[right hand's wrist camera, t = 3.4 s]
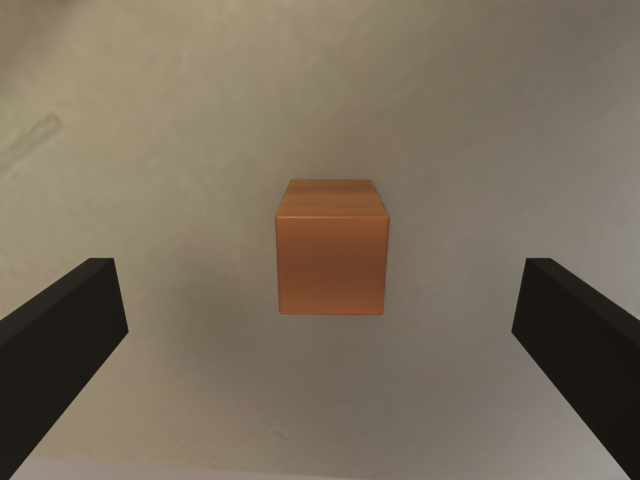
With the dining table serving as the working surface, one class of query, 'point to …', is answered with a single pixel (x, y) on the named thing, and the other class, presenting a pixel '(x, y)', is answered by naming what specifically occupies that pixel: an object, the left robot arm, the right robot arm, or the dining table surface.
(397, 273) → the dining table surface
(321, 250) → the block
